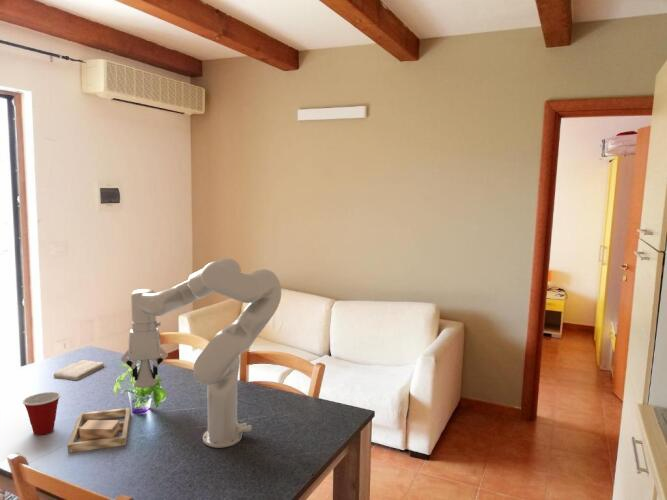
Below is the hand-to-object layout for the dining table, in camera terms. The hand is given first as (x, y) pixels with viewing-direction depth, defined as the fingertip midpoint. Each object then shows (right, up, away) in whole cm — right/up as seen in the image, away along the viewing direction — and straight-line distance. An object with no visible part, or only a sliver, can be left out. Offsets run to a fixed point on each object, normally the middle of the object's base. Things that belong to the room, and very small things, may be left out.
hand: (145, 377), depth 168 cm
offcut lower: (-11, -19, -9) cm, 23 cm away
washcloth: (-46, -10, +48) cm, 67 cm away
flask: (0, -3, 0) cm, 3 cm away
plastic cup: (-33, -17, -4) cm, 37 cm away
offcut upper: (-11, -16, -9) cm, 21 cm away
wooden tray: (-13, -17, -3) cm, 22 cm away
